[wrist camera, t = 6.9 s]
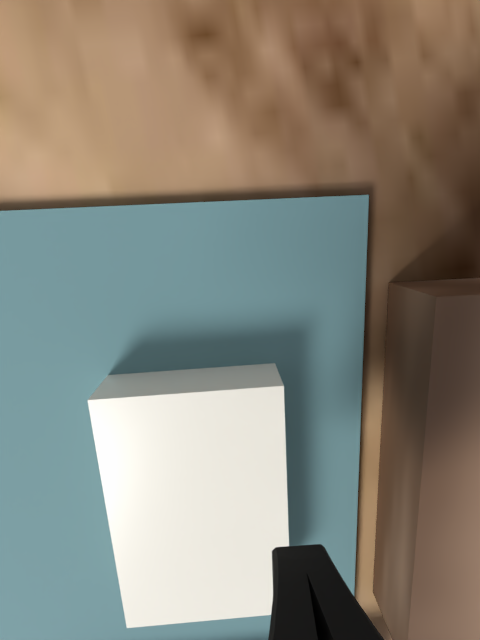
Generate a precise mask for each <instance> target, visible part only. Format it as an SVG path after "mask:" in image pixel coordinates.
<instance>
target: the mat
mask: <svg viewBox="0 0 480 640" xmlns="http://www.w3.org/2000/svg"><path fill="white" fill-rule="evenodd" d="M368 207H369V195H352V196H329V197H307V198H284V199H261V200H238V201H215V202H193V203H170V204H147V205H124V206H101V207H79V208H56V209H33V210H10V211H0V640H268V637H269V630H270V621H271V615H264V616H254V617H243V618H232V619H221V620H210V621H199V622H188V623H178V624H167V625H156V626H145V627H134V628H127V627H126V621H125V615H124V609H123V604H122V598H121V592H120V586H119V580H118V575H117V569H116V563H115V557H114V551H113V545H112V540H111V534H110V528H109V522H108V516H107V511H106V505H105V499H104V493H103V487H102V482H101V476H100V470H99V464H98V458H97V453H96V447H95V441H94V435H93V429H92V424H91V418H90V412H89V406H88V399H89V398H90V396H91V395H92V394H93V393H94V392H95V390H96V389H97V388H98V387H99V385H100V384H101V383H102V382H103V380H104V379H105V378H106V377H107V375H116V374H130V373H144V372H158V371H172V370H186V369H200V368H214V367H228V366H242V365H256V364H270V363H275V365H276V367H277V370H278V372H279V375H280V377H281V380H282V382H283V385H284V406H285V437H286V467H287V498H288V529H289V546H299V545H313V544H321V545H323V546H324V547H325V549H326V551H327V553H328V554H329V556H330V558H331V560H332V562H333V563H334V565H335V567H336V568H337V570H338V572H339V573H340V575H341V577H342V578H343V580H344V582H345V583H346V585H347V586H348V588H349V589H350V591H351V593H352V594H353V596H354V589H355V562H356V535H357V507H358V480H359V453H360V426H361V398H362V371H363V344H364V317H365V289H366V262H367V235H368Z"/></svg>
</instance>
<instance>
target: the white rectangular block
mask: <svg viewBox="0 0 480 640" xmlns="http://www.w3.org/2000/svg"><path fill="white" fill-rule="evenodd" d="M88 406H89V412H90V418H91V424H92V429H93V435H94V441H95V447H96V453H97V458H98V464H99V470H100V476H101V482H102V487H103V493H104V499H105V505H106V511H107V516H108V522H109V528H110V534H111V540H112V545H113V551H114V557H115V563H116V569H117V575H118V580H119V586H120V592H121V598H122V604H123V609H124V615H125V621H126V627H127V628H134V627H145V626H156V625H167V624H178V623H188V622H199V621H210V620H221V619H232V618H243V617H254V616H264V615H271V611H272V602H273V575H272V550H273V549H275V548H276V547H286V546H289V529H288V498H287V467H286V437H285V406H284V385H283V382H282V380H281V377H280V375H279V372H278V370H277V367H276V365H275V363H270V364H256V365H242V366H228V367H214V368H200V369H186V370H172V371H158V372H144V373H130V374H116V375H107V377H106V378H105V379H104V380H103V382H102V383H101V384H100V385H99V387H98V388H97V389H96V390H95V392H94V393H93V394H92V395H91V396H90V398H89V399H88Z"/></svg>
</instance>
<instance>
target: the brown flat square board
mask: <svg viewBox="0 0 480 640" xmlns="http://www.w3.org/2000/svg"><path fill="white" fill-rule="evenodd" d="M373 593H374V596H375V598H376V601H377V603H378V606H379V608H380V610H381V613H382V615H383V618H384V620H385V622H386V625H387V627H388V630H389V632H390V634H391V637H392V639H393V640H480V278H467V279H448V280H428V281H409V282H390V283H389V290H388V309H387V328H386V347H385V367H384V386H383V405H382V425H381V444H380V463H379V483H378V502H377V521H376V540H375V560H374V579H373Z"/></svg>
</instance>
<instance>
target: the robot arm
mask: <svg viewBox="0 0 480 640" xmlns="http://www.w3.org/2000/svg"><path fill="white" fill-rule="evenodd" d="M272 575H273V602H272V611H271V621H270V630H269V637H268V640H384V639H383V638H382V636H381V635H380V634H379V632H378V631H377V629H376V628H375V626H374V625H373V624H372V622H371V621H370V619H369V618H368V616H367V615H366V613H365V612H364V611H363V609H362V608H361V606H360V605H359V603H358V602H357V600H356V599H355V597H354V596H353V594H352V593H351V591H350V589H349V588H348V586H347V585H346V583H345V582H344V580H343V578H342V577H341V575H340V573H339V572H338V570H337V568H336V567H335V565H334V563H333V562H332V560H331V558H330V556H329V554H328V553H327V551H326V549H325V547H324V546H323V545H321V544H313V545H299V546H286V547H276V548H275V549H273V550H272Z"/></svg>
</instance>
